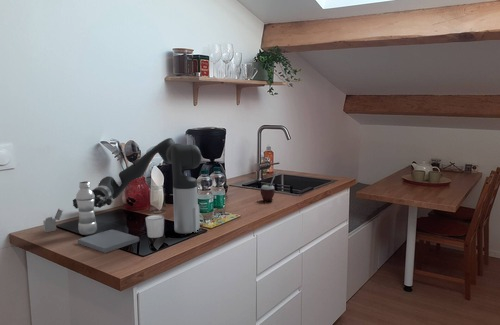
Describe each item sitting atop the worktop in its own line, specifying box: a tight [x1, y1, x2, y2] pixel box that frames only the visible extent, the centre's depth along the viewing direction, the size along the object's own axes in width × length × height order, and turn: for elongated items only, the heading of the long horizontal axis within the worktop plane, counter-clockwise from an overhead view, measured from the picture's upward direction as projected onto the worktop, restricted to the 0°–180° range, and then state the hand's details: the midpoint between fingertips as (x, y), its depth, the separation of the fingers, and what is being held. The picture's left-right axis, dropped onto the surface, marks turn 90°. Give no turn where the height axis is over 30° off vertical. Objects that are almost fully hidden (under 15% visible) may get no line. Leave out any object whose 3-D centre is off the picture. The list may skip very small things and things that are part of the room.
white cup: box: [145, 214, 165, 239], centre depth 151 cm, size 7×7×7 cm
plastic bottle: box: [75, 180, 98, 236], centre depth 152 cm, size 6×7×20 cm
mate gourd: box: [260, 171, 280, 203], centre depth 202 cm, size 8×8×15 cm
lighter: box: [42, 208, 64, 233], centre depth 158 cm, size 7×2×8 cm, turn 133°
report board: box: [77, 229, 140, 254], centre depth 144 cm, size 16×14×2 cm
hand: (87, 205), depth 154 cm, fingers open, 8 cm apart
